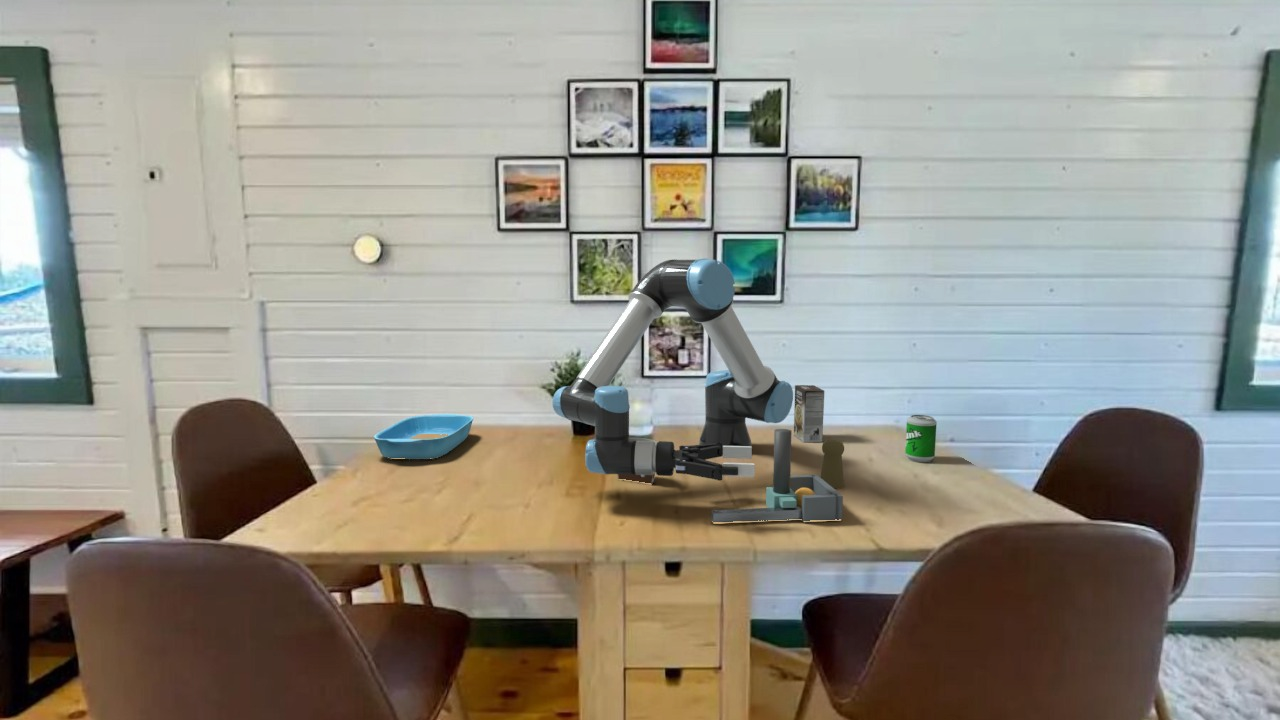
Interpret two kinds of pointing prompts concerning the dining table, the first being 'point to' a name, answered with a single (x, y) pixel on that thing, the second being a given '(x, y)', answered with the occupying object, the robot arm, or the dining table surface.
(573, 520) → the dining table surface
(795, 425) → the coffee box
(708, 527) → the dining table surface
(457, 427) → the casserole dish
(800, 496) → the ball
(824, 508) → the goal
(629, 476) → the food container
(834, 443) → the olive pawn figure
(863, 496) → the dining table surface
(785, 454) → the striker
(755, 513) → the rail
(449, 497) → the dining table surface
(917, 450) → the soda can
